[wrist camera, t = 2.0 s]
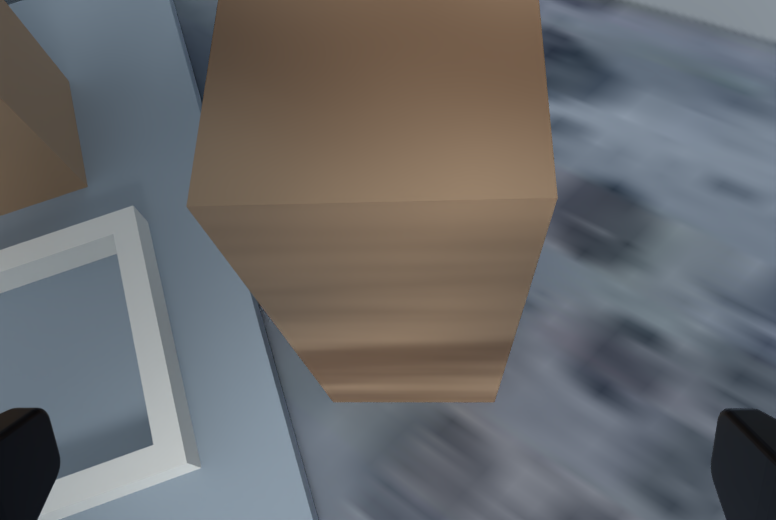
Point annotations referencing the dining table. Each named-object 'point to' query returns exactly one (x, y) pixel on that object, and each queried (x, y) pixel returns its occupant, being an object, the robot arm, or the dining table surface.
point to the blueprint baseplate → (128, 280)
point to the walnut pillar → (381, 183)
